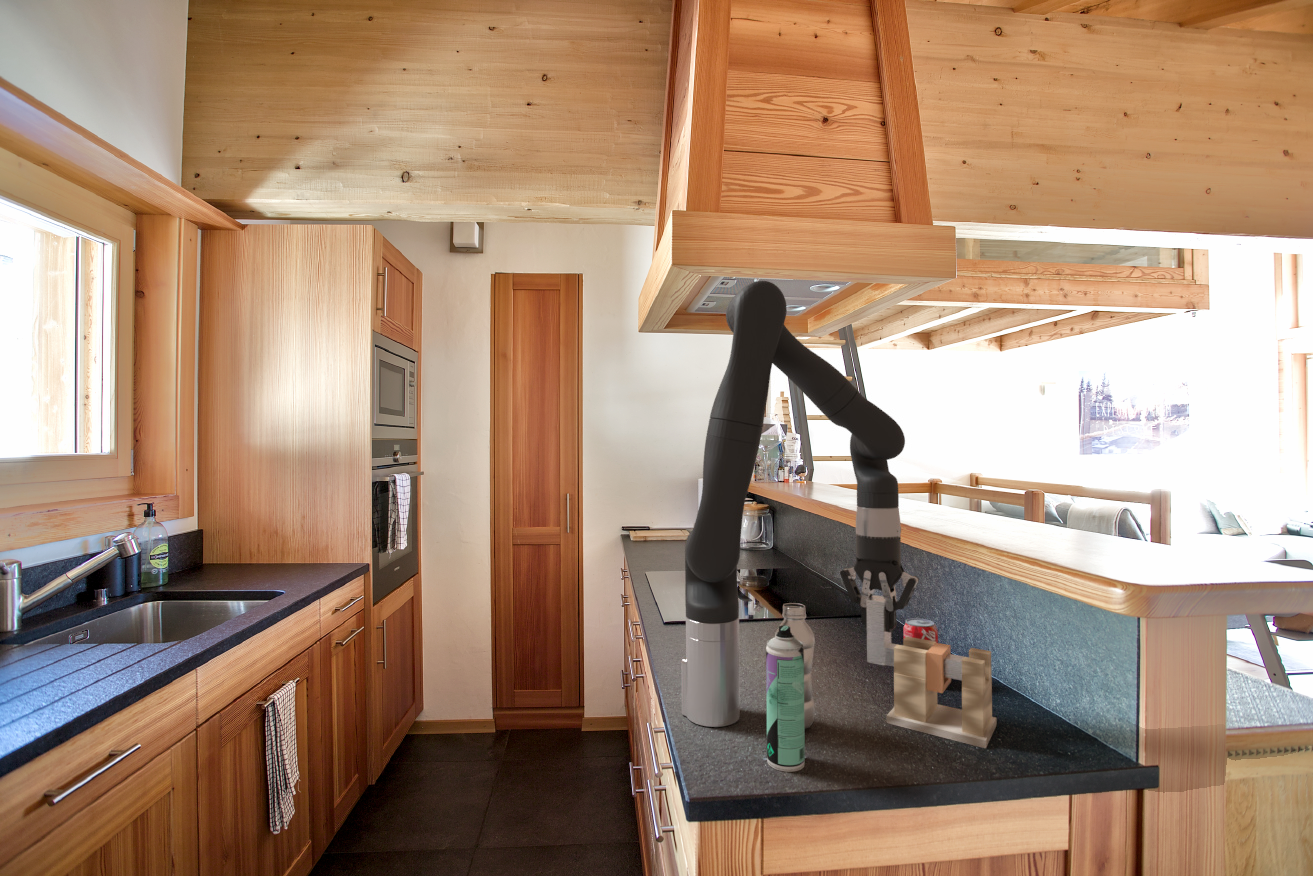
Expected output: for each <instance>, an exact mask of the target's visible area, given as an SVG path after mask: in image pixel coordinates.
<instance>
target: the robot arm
mask: <svg viewBox="0 0 1313 876" xmlns="http://www.w3.org/2000/svg"><path fill="white" fill-rule="evenodd" d="M725 317H726V319H725V321H726V323H727V326H728V328H729V330H730V331H731V333H732V342H731V351H730V355H729V360H728V363H727V366H726V369H725V372H724V374H723V377H722V379H721V382H720V384H719V387H718V390H717V393H716V395H715V398H714V401H713V404H712V406H711V411H710V415H709V420H708V425H707V431H706V436H705V441H704V442H705V443H704V451H703V452H704V454H703V467H702V488H701V489H702V491H701V498H700V502H699V506H698V511H697V514H696V518H695V522H694V525H693V528H692V530H690V532H689V534H688V535H687V538H686V540H685V544H684V566H685V567H684V572H685V573H684V574H685V575H684V576H685V577H684V578H685V582H684V583H685V585H684V589H685V590H684V591H685V592H684V595H685V597H684V599H685V657H683V658H682V659H681V663H680V665H681V668H680V671H681V677H680V678H681V686H680V687H681V715H682V716H685V717H687V719H688V720H689V721H690V722H692V723H694V724H696V725H700V726H704V727H709V728H710V727H711V728H712V727H714V728H719V727H726V726H730V725H733V724H735V723H736V722H738V721H739V719H740V717H741V716H740V710H741V704H740V702H741V701H740V695H741V694H740V610H739V609H740V602H739V601H740V600H739V592H738V564H739V561H740V557H741V555H740V553H741V539H742V538H741V537H742V526H743V515H744V508H745V503H746V499H747V494H748V491H749V489H750V484H751V481H752V477H753V473H754V470H755V465H756V462H757V458H758V457H757V456H758V454H759V453H758V452H759V448H760V444H761V438H762V432H763V427H764V422H765V421H764V420H765V414H766V407H767V402H768V395H769V389H770V379H771V372H772V367H773V365H774V366H775V367H776V368H777V369H778V370H779V371H780V372H782V373H783V374H784V376H786V377H787V378H788V379H789V380H790V381H791V382H792V383H793V384H794V385H795V386H796V387H798V389H799V390H800V391H801V392H802V393H803V394H804V395H805V396H806V397H807V398H808V399H809V400H810V401H811V403H813V405H815V407H816V408H818V410H819V411H820V412H821V413H823V415H824V416H825V417H826V418H827V419H828V420H829V421H830V422H831V423H832V424H834V425H836V426H838V427H841V428H844V429H845V430H847V431H849V432H850V434H851V435H850V440H849V452H850V453H849V454H850V457H851V463H852V467H853V471H854V476H855V480H856V506H857V507H856V513H855V556H856V557H855V558H856V560H855V563H854V565H853V567H850V568H848V567H846V568H844V569H842V570H840V572H839V575H840V578H841V579H842V582H843V584H844V587H845V590H846V592H847V595H848V596H849V599H850V601H851V602H852V603H856V604H858V605H859V606H860V609H861V624H862V625H863V626H864V628H865V629H867V601H866V600H867V599H869V598H870V597H872V596H873V595H874V593H875V590H879V591H881V592H882V596H883V597H884V598H885V603H886V608H887V611H885V615H886V632H891V633H892V632H893V631H894V629H896V628H897V611H898V610H903V609H904V608H906V607H907V606H908V605H909V603H910V601H911V598H912V596H913V594H914V592H915V589H916V588H917V586H918V584H919V582H920V579H919V577H918V576H916V575H914V576H912V575H911V574H909V573H907V572H905V569H904V567H903V566H902V565H903V564H902V553H901V552H902V549H901V545H902V544H901V543H902V542H901V541H902V539H901V534H902V526H901V515H900V508H899V507H900V506H899V502H900V501H899V482H898V479H897V477H896V476H895V475H893V474H892V473H891V472H890V470H889V463H888V460H891V459H894V458H896V457H898V456H899V455H900V454H901V453H902V452H903V451H904V448H905V444H906V438H905V433H904V431H903V429H902V428H901V426H900V425H899V424H898V423H897V421H895V419H894V418H893V417H892V416H890V415H889V414H888V413H886V412H885V411H883V410H882V409H881V408H880V407H878V406H877V405H876V404H874V403H873V402H871V401H870V400H868V399H867V398H866V397H864V396H863V395H862V394H861V392H860V391H859V390H858V389H857V388H856V387H855V385H853V384H852V383H851V382H850V381H849V380H848V379H847V377H845V375H843V373H841V372H840V371H839V370H838V369H837V367H835V366H833V365H832V364H831V363H829V362H828V361H827V360H825V359H824V358H822V356H819V355H818V354H816V353H815V352H814V351H812V350H811V349H810V348H809V347H807V346H805V345H804V344H803V343H802V342H801V341H800V340H798V339H797V338H796V337H795V335H793V334H792V333H791V331H789V329H788V328H787V327H786V325H785V321H786V318H787V301H786V298H785V296H784V293H783V291H782V290H781V289H780V287H779V286H777V285H776V284H774V283H773V282H771V281H768V280H758V281H754V282H751V283H749V284H747V285H746V286H744V287H742V288H741V289H740V290H739V291H738V292H737V293H736V294H735V295H734V296H732V298H731V299H730V301H729V302H728V304H727V306H726V309H725ZM856 575H857V576H858V578H859V580H860V581H861V583H862V585H861V586H862V587H861V592H860V589H859V587H858V584H857V582H856V577H857V576H856ZM900 579H902V586H903V587H904V588H903V590H902V593H901V595H900V597H899V599H898V600H897V592H896V584H897V583H898V582H899V580H900Z"/></svg>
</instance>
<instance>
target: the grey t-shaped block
mask: <svg viewBox="0 0 1313 876" xmlns="http://www.w3.org/2000/svg"><path fill="white" fill-rule="evenodd" d="M866 601H867V628H866V662H867V663H870V664H874V665H880V666H889V667H893V668H894V647H895V646H896V645H899V644H897V643H892V631H891V632H886V615H885V611H887V608H886V603H885V598H884V597H883V595H875V594H873V596H872V597H870V598H869V599H867V600H866ZM901 645H902V646H903V644H901ZM907 647H909V646H907ZM913 648H914V647H913ZM918 649H920V648H918ZM924 650H925V649H924ZM964 657H965V656H963V655H957V654H948V655H947V656H946V657H945V658H944V660H943V667H944V677H947V678H951V680H952V679H953V680H958V681H962V659H963V658H964Z"/></svg>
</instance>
